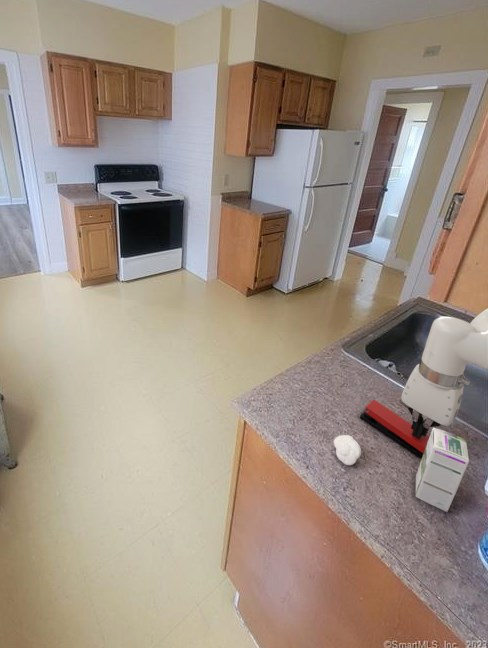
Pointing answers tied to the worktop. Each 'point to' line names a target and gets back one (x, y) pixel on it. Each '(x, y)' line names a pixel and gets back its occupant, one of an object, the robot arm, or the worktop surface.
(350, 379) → the worktop surface
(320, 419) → the worktop surface
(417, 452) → the stapler base
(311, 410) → the worktop surface
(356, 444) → the dumpling
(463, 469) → the syrup box
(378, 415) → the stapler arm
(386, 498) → the worktop surface
